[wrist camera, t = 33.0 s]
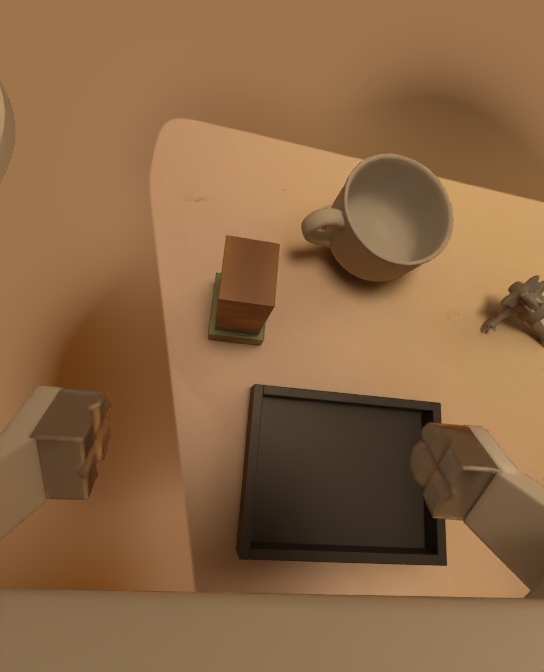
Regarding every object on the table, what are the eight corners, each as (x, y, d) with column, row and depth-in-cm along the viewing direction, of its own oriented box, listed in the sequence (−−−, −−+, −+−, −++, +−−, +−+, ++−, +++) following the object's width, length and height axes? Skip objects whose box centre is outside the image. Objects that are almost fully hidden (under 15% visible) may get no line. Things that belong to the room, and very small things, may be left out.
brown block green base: (207, 339, 36) (210, 304, 26) (215, 280, 37) (220, 227, 28) (260, 345, 37) (281, 314, 27) (265, 287, 38) (286, 238, 29)
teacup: (405, 207, 44) (448, 159, 36) (416, 296, 41) (465, 265, 33) (286, 196, 41) (305, 142, 34) (289, 290, 38) (311, 255, 31)
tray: (236, 549, 32) (238, 559, 29) (250, 387, 35) (254, 383, 33) (429, 556, 34) (447, 566, 32) (425, 404, 38) (440, 402, 36)
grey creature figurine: (528, 379, 41) (483, 331, 38) (499, 349, 46) (457, 304, 43) (622, 318, 37) (581, 259, 34) (579, 293, 42) (539, 239, 39)
